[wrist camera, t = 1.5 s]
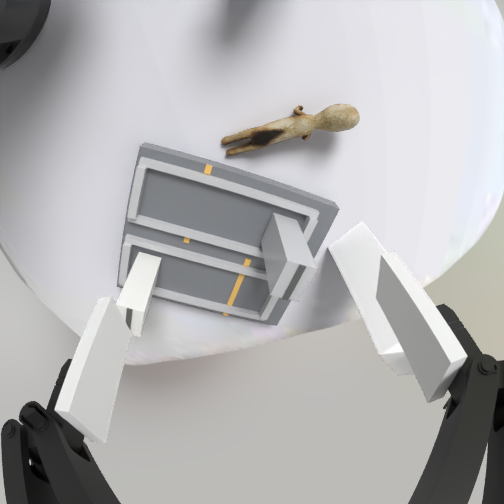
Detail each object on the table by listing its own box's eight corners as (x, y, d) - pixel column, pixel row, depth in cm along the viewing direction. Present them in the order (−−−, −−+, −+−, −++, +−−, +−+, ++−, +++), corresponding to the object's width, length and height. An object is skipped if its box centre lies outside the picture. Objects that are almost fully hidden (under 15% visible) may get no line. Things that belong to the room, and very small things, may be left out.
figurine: (235, 155, 35) (358, 124, 30) (226, 167, 31) (365, 133, 27) (224, 127, 33) (350, 94, 28) (213, 136, 29) (357, 98, 25)
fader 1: (135, 276, 38) (114, 331, 29) (139, 251, 36) (115, 305, 27) (156, 281, 39) (140, 338, 30) (161, 257, 37) (143, 313, 28)
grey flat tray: (120, 278, 41) (114, 292, 38) (144, 142, 31) (136, 149, 28) (274, 316, 46) (277, 332, 43) (334, 202, 37) (343, 213, 34)
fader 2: (260, 241, 36) (270, 296, 28) (273, 212, 34) (287, 262, 26) (283, 247, 37) (299, 303, 28) (297, 220, 35) (318, 270, 27)
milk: (361, 220, 38) (450, 341, 20) (380, 248, 41) (459, 366, 22) (325, 247, 40) (389, 382, 21) (347, 273, 43) (408, 400, 24)
